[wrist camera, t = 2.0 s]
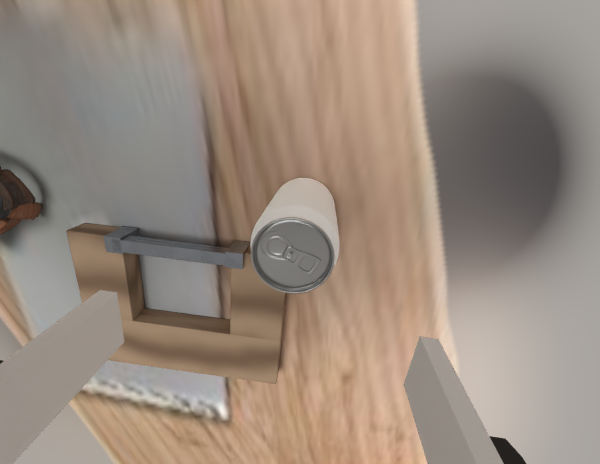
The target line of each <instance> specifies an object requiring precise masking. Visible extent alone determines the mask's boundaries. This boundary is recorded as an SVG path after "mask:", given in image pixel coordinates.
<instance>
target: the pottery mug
mask: <svg viewBox="0 0 600 464" xmlns="http://www.w3.org/2000/svg"><path fill="white" fill-rule="evenodd" d="M0 196H1V198H2V201H3V209H4V210H8V209H11V211H10V214H9V215H8V216H7V217H6V218H1V219H0V234H1V233H3V232H5V231H8V230H10V229H11V228H13V227H14V226H16V225H17V224H18V223H19V222H20V221H21V220H22V219H35V218H36V217H38V216H39V214H40V210H41V205H40V204H39V203H36V202H35V197H34V196H33V195H32V193H31V192H30V191H29V189H28V188H27V187H26V186H25V185H24V183H23V182H22V181H21V180H20V179H19V178H18V177H17V176H15V175H14V174H13V173H12V172H11V171H10V170H8V169H6V170H2V169H1V167H0Z"/></svg>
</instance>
